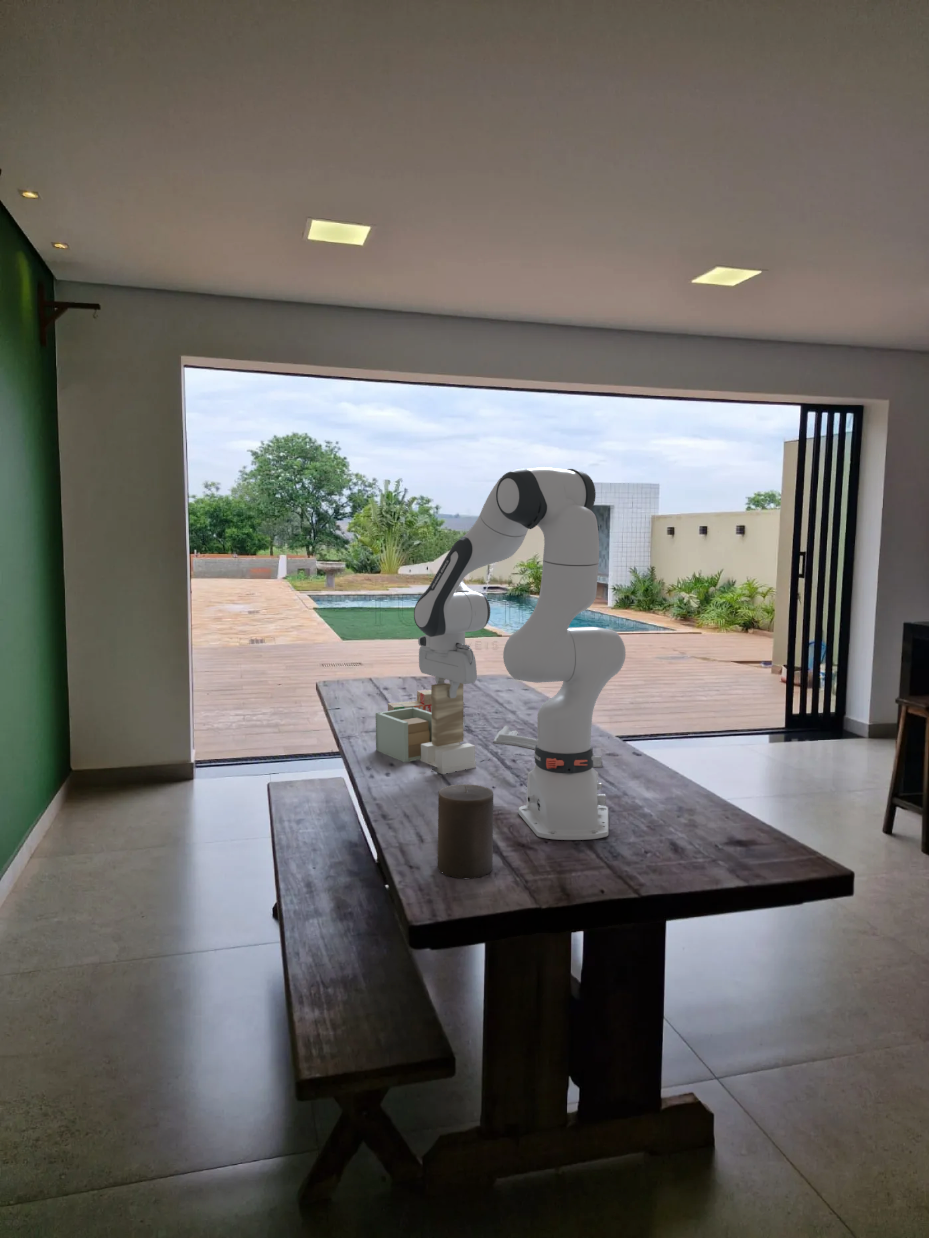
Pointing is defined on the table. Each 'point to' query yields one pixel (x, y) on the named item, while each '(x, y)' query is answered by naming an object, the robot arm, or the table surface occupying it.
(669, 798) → the table surface
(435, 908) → the table surface
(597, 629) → the robot arm
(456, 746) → the holder
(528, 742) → the molding
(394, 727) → the rack
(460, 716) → the rectangular block
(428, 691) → the stack of blocks
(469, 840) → the pillar candle
